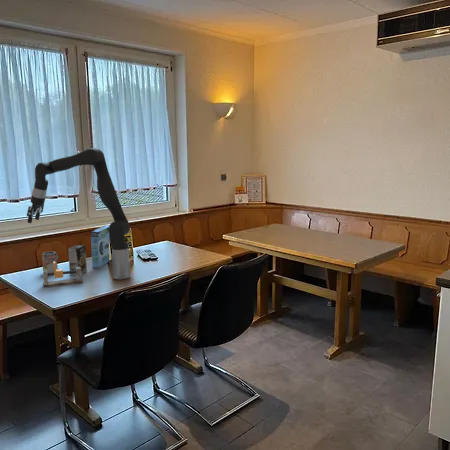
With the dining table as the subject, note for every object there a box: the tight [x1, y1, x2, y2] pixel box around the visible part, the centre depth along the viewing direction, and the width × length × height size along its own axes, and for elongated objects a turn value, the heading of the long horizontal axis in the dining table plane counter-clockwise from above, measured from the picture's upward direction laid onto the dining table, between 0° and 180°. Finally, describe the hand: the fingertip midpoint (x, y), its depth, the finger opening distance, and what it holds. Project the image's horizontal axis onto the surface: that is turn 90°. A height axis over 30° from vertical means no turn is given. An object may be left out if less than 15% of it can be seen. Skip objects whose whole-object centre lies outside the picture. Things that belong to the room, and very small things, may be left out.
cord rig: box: [42, 267, 83, 288], centre depth 239 cm, size 20×6×8 cm, turn 113°
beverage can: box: [41, 251, 59, 273], centre depth 258 cm, size 9×8×12 cm
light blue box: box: [90, 225, 110, 269], centre depth 276 cm, size 20×5×23 cm, turn 169°
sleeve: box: [53, 262, 64, 279], centre depth 237 cm, size 4×4×8 cm
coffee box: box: [67, 244, 88, 276], centre depth 257 cm, size 9×6×16 cm
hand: (33, 221), depth 257 cm, fingers open, 8 cm apart
